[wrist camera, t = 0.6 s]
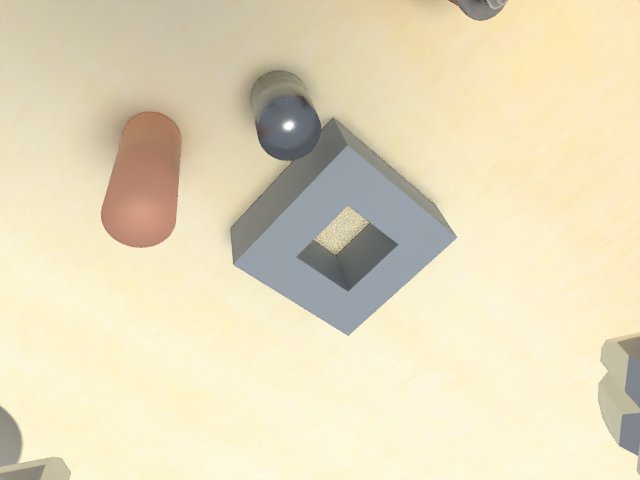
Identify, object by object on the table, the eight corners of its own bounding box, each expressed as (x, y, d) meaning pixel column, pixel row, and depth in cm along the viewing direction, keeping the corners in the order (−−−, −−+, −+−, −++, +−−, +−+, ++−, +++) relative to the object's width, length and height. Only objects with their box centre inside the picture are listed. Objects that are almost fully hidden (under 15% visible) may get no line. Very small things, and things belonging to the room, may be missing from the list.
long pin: (111, 142, 42) (86, 223, 32) (144, 100, 40) (128, 171, 31) (159, 174, 43) (148, 258, 34) (192, 135, 42) (190, 211, 33)
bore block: (230, 228, 47) (233, 264, 43) (333, 117, 43) (347, 145, 39) (336, 298, 53) (348, 335, 48) (435, 205, 49) (457, 237, 45)
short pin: (239, 102, 42) (244, 135, 37) (276, 58, 40) (286, 87, 35) (281, 135, 43) (292, 172, 38) (318, 95, 42) (334, 127, 37)
